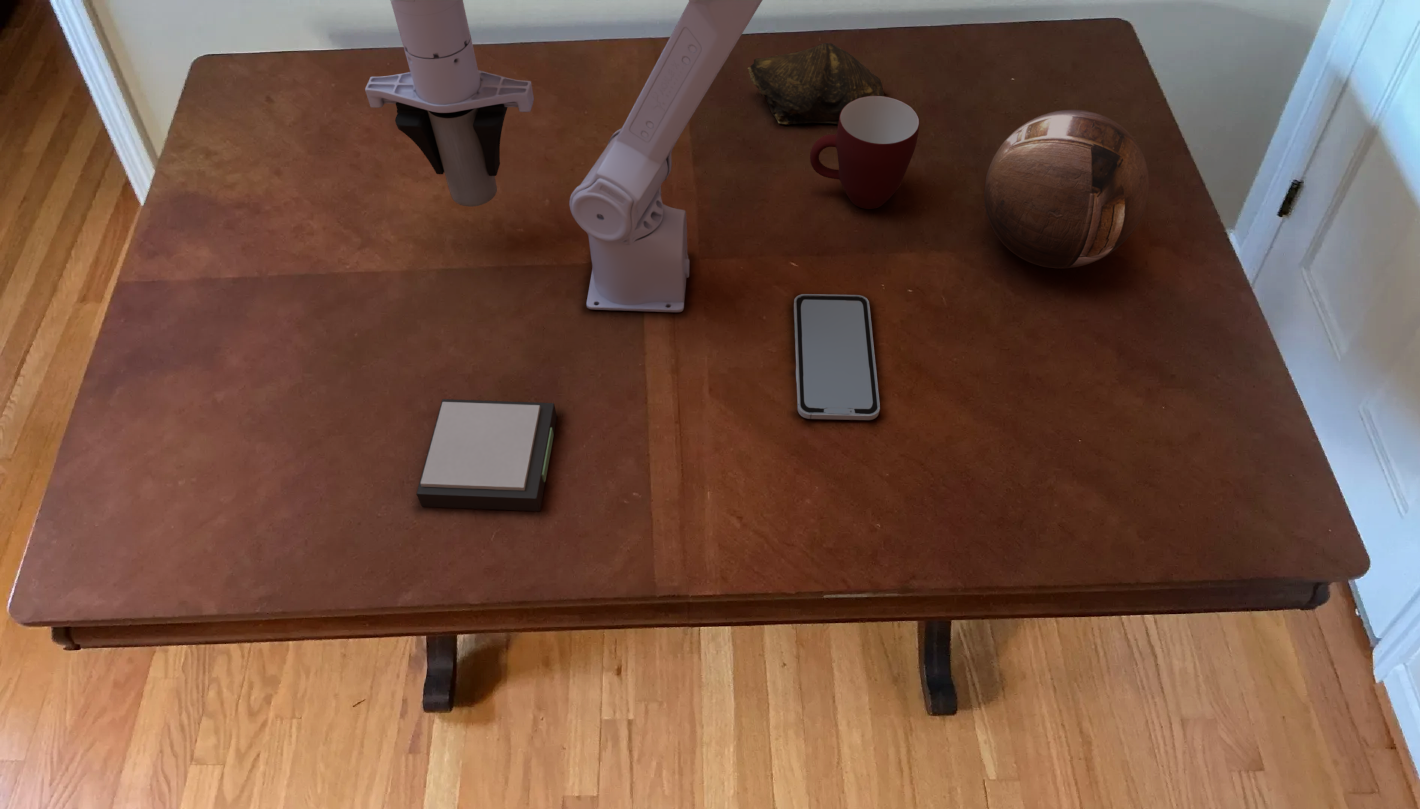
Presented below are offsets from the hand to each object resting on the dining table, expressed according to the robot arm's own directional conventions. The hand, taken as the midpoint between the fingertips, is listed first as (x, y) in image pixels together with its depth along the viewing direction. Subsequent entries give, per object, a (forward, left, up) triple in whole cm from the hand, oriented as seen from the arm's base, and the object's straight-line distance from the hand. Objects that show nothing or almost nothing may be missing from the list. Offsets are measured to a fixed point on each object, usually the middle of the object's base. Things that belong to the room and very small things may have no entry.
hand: (468, 168), depth 95 cm
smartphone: (-35, +14, -10) cm, 39 cm away
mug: (-38, -9, -10) cm, 41 cm away
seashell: (-34, -25, -10) cm, 44 cm away
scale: (-5, +27, -10) cm, 29 cm away
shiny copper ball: (-57, -2, -10) cm, 58 cm away
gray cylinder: (0, 0, -3) cm, 3 cm away
